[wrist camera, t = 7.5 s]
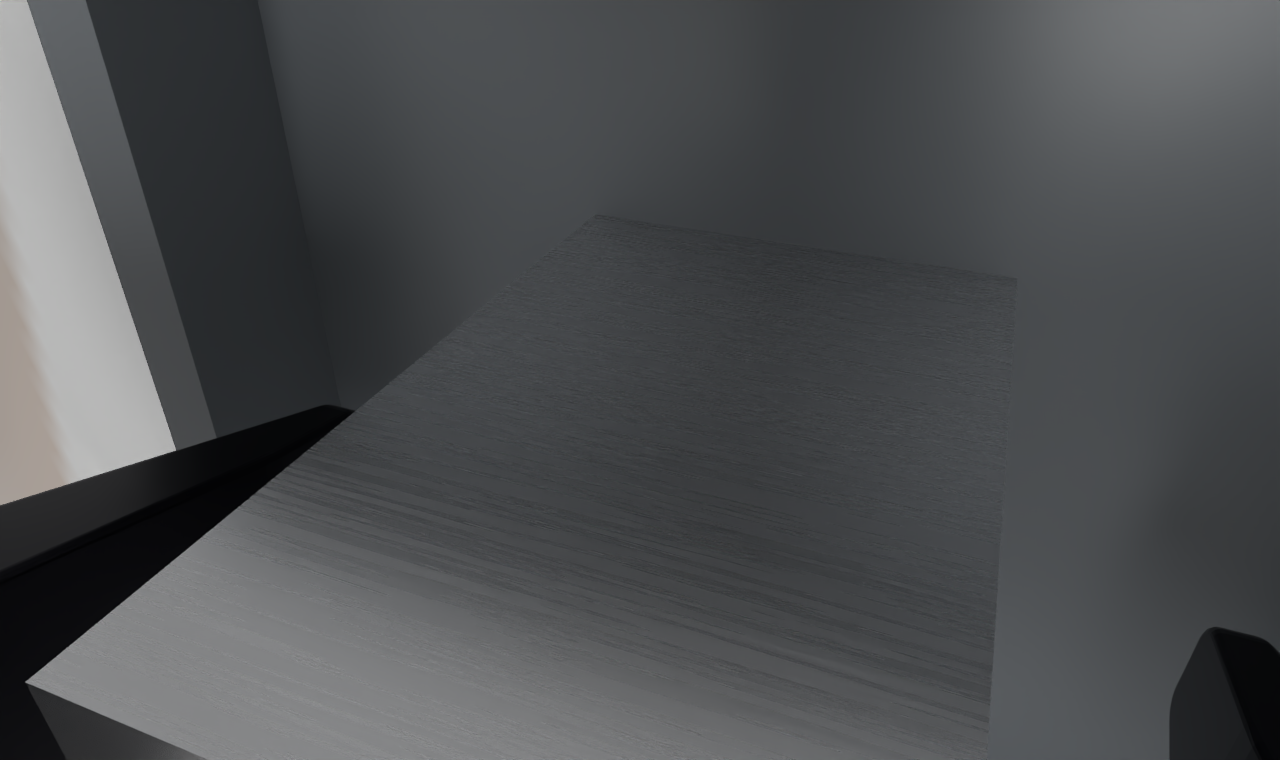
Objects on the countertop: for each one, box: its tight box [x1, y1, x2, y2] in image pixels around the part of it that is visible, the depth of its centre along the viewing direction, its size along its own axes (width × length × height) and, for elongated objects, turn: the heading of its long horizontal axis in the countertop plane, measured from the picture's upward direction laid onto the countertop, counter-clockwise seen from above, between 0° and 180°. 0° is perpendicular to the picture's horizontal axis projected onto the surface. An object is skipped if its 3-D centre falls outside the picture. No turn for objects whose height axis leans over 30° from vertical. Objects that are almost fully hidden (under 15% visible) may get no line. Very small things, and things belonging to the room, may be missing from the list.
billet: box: [25, 214, 1017, 760], centre depth 8 cm, size 4×4×7 cm
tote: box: [27, 0, 1280, 760], centre depth 10 cm, size 15×15×3 cm
